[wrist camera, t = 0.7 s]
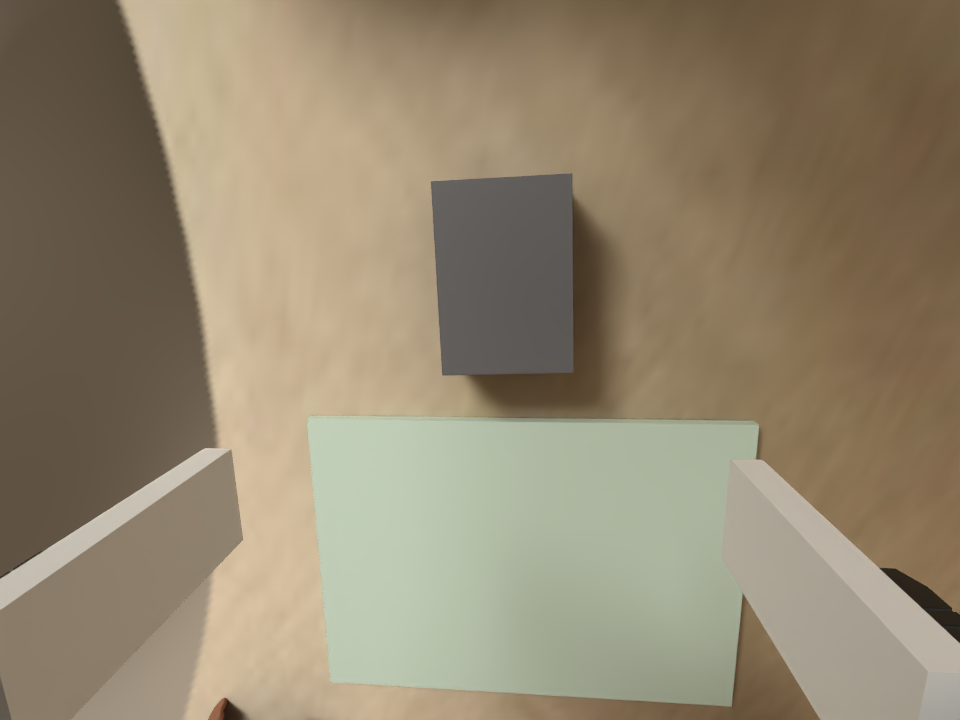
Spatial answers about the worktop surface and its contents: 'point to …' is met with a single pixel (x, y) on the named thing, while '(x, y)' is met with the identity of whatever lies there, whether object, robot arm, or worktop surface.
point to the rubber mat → (529, 554)
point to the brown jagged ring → (219, 710)
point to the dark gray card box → (505, 274)
